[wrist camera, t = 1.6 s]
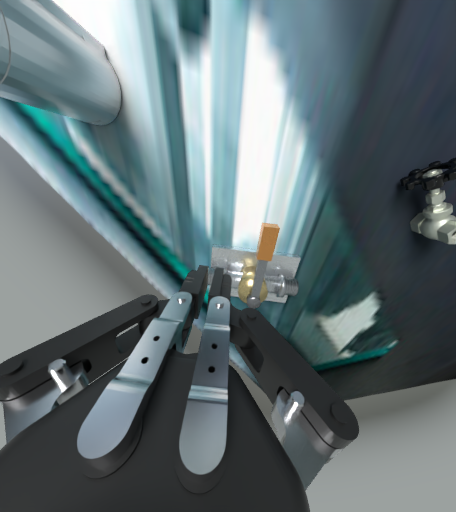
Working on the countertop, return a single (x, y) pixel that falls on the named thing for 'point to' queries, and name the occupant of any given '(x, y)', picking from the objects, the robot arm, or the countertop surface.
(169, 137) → the countertop surface
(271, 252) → the valve lever
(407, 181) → the valve
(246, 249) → the valve manifold
